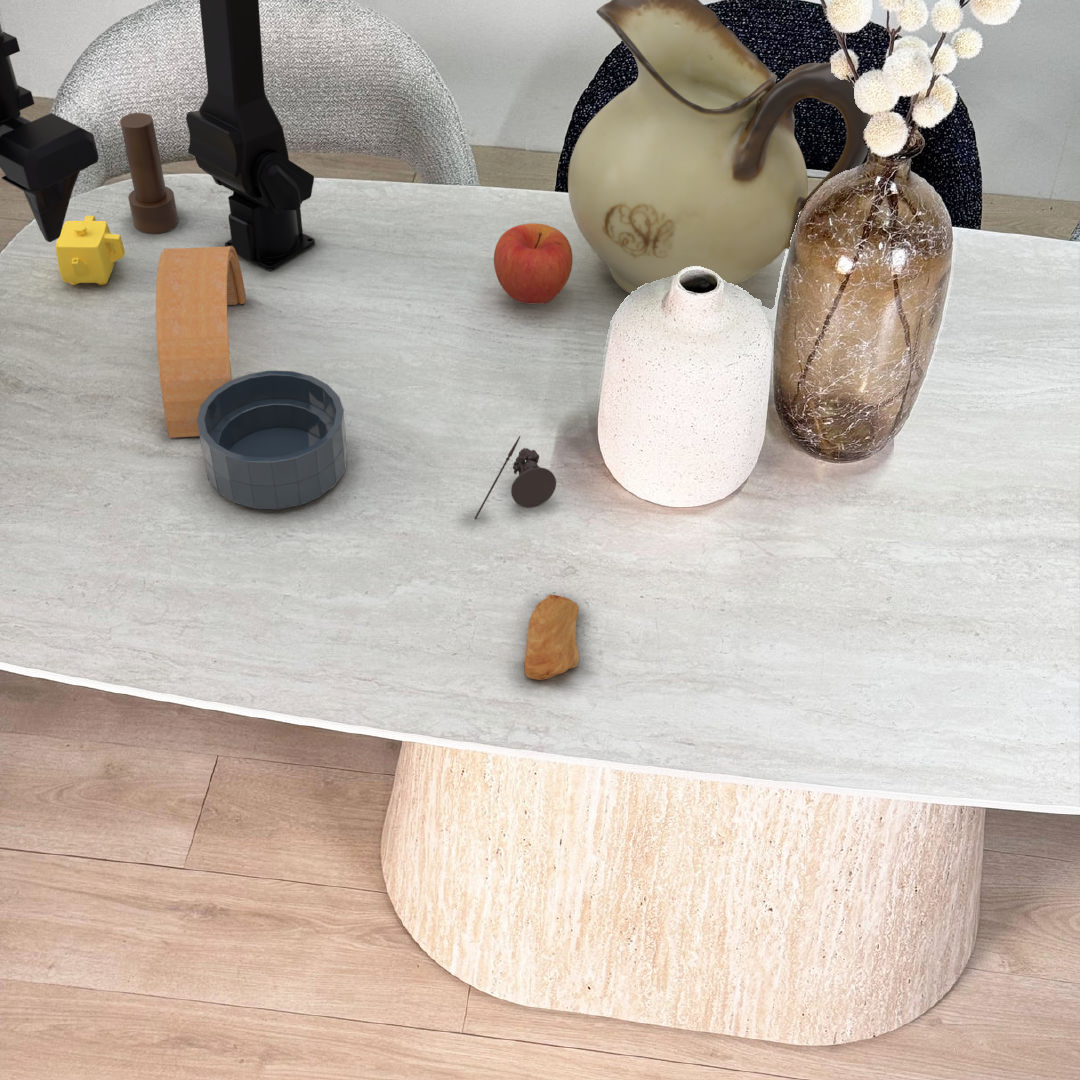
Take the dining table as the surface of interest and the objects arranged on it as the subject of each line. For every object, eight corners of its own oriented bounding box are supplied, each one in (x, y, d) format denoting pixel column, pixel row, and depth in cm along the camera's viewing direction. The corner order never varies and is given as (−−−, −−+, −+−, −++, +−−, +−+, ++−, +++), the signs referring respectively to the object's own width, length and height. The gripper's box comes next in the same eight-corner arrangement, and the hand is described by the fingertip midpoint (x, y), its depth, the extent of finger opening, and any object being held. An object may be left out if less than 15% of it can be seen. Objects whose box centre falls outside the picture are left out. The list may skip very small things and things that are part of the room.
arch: (248, 297, 119) (234, 202, 112) (238, 434, 105) (221, 335, 98) (185, 299, 118) (167, 204, 111) (166, 437, 104) (144, 338, 97)
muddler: (158, 206, 130) (138, 104, 122) (187, 220, 128) (170, 118, 120) (124, 223, 127) (102, 121, 120) (154, 238, 126) (134, 135, 118)
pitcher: (542, 216, 131) (558, -29, 113) (759, 206, 135) (809, -32, 117) (584, 348, 116) (611, 90, 98) (828, 333, 120) (896, 82, 102)
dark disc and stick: (519, 435, 96) (502, 407, 99) (473, 518, 99) (458, 489, 102) (577, 451, 99) (559, 423, 102) (531, 531, 102) (515, 502, 105)
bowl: (276, 405, 108) (269, 353, 104) (375, 459, 104) (372, 407, 100) (178, 474, 102) (166, 421, 98) (279, 535, 97) (271, 482, 93)
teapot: (120, 299, 118) (109, 251, 114) (57, 299, 118) (44, 251, 114) (135, 252, 124) (125, 205, 120) (75, 252, 123) (63, 205, 120)
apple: (549, 270, 124) (553, 197, 119) (582, 310, 120) (588, 236, 114) (480, 285, 122) (481, 212, 116) (512, 327, 117) (515, 252, 112)
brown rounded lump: (495, 666, 89) (556, 701, 88) (498, 649, 88) (560, 684, 87) (547, 594, 94) (606, 626, 93) (551, 576, 92) (611, 609, 91)
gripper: (-221, 26, 89) (-143, 220, 101) (-62, 109, 82) (4, 308, 93) (-82, -22, 96) (-23, 165, 107) (77, 51, 88) (123, 244, 99)
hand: (16, 219), depth 101 cm, fingers open, 9 cm apart
